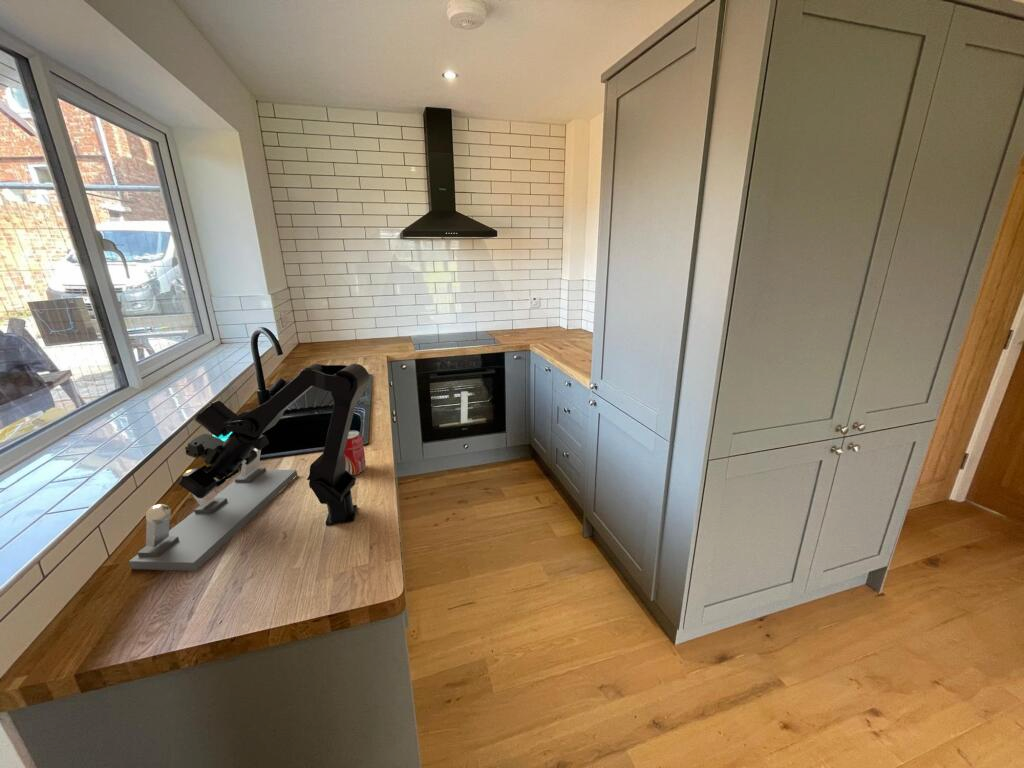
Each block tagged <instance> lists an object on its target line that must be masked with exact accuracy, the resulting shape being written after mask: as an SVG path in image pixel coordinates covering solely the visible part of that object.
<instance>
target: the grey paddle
mask: <svg viewBox="0 0 1024 768" xmlns="http://www.w3.org/2000/svg"><path fill="white" fill-rule="evenodd" d="M253 450H255V451H256V452H257V457H256V458H255V460H254V461H252V462H251V463H250V464H248V465H246V464H245V463H246V460H243V461H242V464H243V465H242V466H241V470H240V471H241V472H240V475H242V476H246V475H248V474H249V473H250V472H251V471H253V470H254V469H255V468H257V467H260V461H261V460H260V459H261V454H262V453H261V452H262V449H261V450H257V449H256V448H255V447H254V448H253Z"/></svg>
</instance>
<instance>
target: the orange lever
mask: <svg viewBox="0 0 1024 768" xmlns="http://www.w3.org/2000/svg"><path fill="white" fill-rule="evenodd" d="M192 469H193V468H191V469H188V470H186V471H184V472H183V474H182V475H181V477H182V476H183V475H184V474H186V473H188V472H189V471H191V470H192ZM190 494H191V495H192V497H193V498H194V499H195V501H196V502H197V503H198V504H199V506H202V505H204V504H206V503H208V502H209V501H210V500H212V499H213V498H214V497H216V496H217V494H218V493H216V492H215V489H214V490H212V491H211V492H210V493H209V494H207V495H206V496H205V497H203V498H197V497H196V496H195V495H193V494H192V493H190Z"/></svg>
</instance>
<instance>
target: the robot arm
mask: <svg viewBox="0 0 1024 768" xmlns="http://www.w3.org/2000/svg"><path fill="white" fill-rule="evenodd" d="M369 380H370V374H369V372H368V371H367V369H366V368H365V367H364V366H363V365H361V364H358V363H351V364H348V365H345V364H320V363H313V364H310V365H308V366H306V367H305V368H302V369H301V371H300V372H299V373H298V374H297V375H296V376H295V377H294V378H292V380H290V381H289V382H288V383H287V384H285V385H284V386H283V387H282V388H281V389H280V390H279V391H278V392H276V393H274V395H273V396H272V397H270V399H268V400H267V401H265V402H264V403H262V404H260V405H257V406H256V407H254V408H252V409H251V410H250V409H249V410H244V411H243V412H242V413H239V414H236V413H235V412H234V411H233V410H232V409H230V408H229V407H227V406H226V405H225V403H223V402H222V401H221V400H220V399H218V400H216V401H213V402H212V403H211V404H210V405H209V406H207V407H206V408H205V409H203V410H202V411H201V412H200V413H198V414H197V415H196V416H195V419H194V422H196V423H197V424H199V426H201V427H203V428H204V429H205V430H207V431H208V432H209V433H211V434H212V435H215V436H216V437H214V436H212V435H211V434H208V433H202V434H200V435H198V436H196V437H194V438H192V439H191V440H190V442H188V443H187V445H186V446H185V447H184V449H185V454H186V455H187V456H189V457H192V458H194V459H197V458H199V457H200V458H203V459H204V461H203V463H205V465H202V466H201V467H195V468H191V469H192V470H191V471H189V472H188V473H186V474H184V473H183V474H184V475H183V474H182V475H183V476H182V475H181V477H180V478H179V479H178V480H177V481H178V485H179V486H181V487H182V488H184V489H185V490H186V491H188V492H190V494H191V493H192V494H193V495H195V496H196V497H197V498H203V497H205V496H206V495H207V494H209V493H210V492H211V491H212V490H214V491H215V489H216V488H219V487H220V486H221V485H223V484H224V483H225V482H227V480H229V479H231V478H232V477H233V476H235V475H236V474H237V473H238V472H239V468H242V465H243V464H242V461H243V460H246V463H245V464H246V465H248V464H250V463H251V462H252V461H254V460H255V458H256V457H257V452H256V451H255V450H253V449H255V448H256V449H257V450H261V451H262V449H263V448H265V447H266V446H267V445H269V444H270V442H269V439H268V438H267V435H266V434H263V433H265V432H266V431H268V430H270V429H271V428H273V427H274V426H276V425H277V424H278V422H279V421H280V419H281V418H283V415H284V413H285V411H286V410H287V409H288V408H289V407H291V405H293V404H294V403H295V402H296V401H297V400H298V399H299V398H301V397H302V396H303V395H305V394H306V393H307V392H308V391H309V390H310V389H311V388H313V387H317V388H318V389H320V390H323V391H325V392H330V395H331V398H332V402H333V406H332V407H333V408H332V411H331V417H330V420H329V424H328V425H329V426H328V429H327V434H326V438H325V442H324V447H323V453H321V455H319V456H318V457H317V458H316V459H315V460H314V461H313V462H312V463H311V464H310V466H309V475H308V477H307V478H306V481H308V487H309V488H310V489H311V490H312V491H313V493H314V495H315V497H316V498H317V500H318V501H319V503H320V505H326V506H327V507H326V508H327V512H328V513H327V517H326V520H325V523H324V524H325V525H326V526H332V525H337V524H343V523H345V524H346V523H350V522H354V521H355V519H356V513H357V511H358V510H357V509H358V505H357V504H354V503H353V497H352V492H351V489H353V487H354V486H355V485H356V481H357V478H356V476H355V475H351V474H350V473H349V472H348V471H346V470H345V467H346V463H345V460H344V457H343V454H344V450H345V446H346V442H347V438H348V434H349V431H351V425H352V421H353V417H354V414H355V413H354V412H355V409H356V405H357V403H358V401H359V400H360V398H361V396H362V395H363V393H364V391H365V390H366V387H367V385H368V383H369ZM230 432H232V433H231V435H230V436H229V437H228V438H227V440H226V441H225V442H224V441H222V440H221V439H219V438H217V437H219V436H220V435H221V434H222V435H223V436H226V435H228V434H229V433H230ZM207 465H208V466H207ZM192 494H191V495H192ZM193 495H192V496H193Z"/></svg>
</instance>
